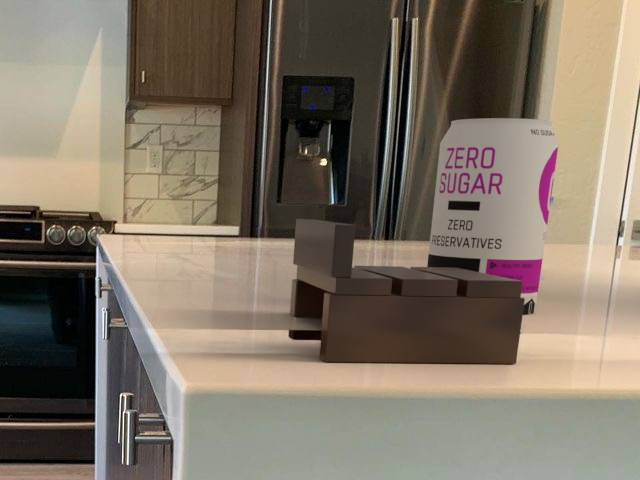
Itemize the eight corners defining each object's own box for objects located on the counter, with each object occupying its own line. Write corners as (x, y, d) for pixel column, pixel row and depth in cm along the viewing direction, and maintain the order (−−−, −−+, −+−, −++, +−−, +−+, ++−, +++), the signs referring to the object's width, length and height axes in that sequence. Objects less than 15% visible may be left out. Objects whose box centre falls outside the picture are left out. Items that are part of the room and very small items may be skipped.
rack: (453, 339, 68) (466, 223, 65) (516, 364, 58) (534, 229, 56) (288, 337, 67) (295, 218, 64) (324, 362, 57) (335, 224, 55)
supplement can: (530, 326, 76) (557, 126, 71) (533, 339, 68) (564, 117, 64) (425, 319, 78) (446, 125, 74) (417, 332, 71) (439, 117, 66)
